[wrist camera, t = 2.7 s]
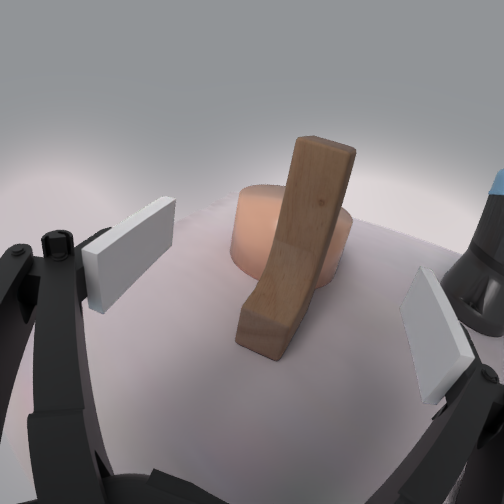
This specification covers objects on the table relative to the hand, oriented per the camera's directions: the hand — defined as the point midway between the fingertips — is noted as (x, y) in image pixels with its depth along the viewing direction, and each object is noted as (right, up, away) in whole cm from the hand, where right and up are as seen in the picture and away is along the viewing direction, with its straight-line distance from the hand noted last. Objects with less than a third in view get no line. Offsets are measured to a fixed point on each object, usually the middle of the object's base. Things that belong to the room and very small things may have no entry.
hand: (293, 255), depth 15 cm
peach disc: (+2, -1, +28) cm, 28 cm away
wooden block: (0, -7, +15) cm, 17 cm away
